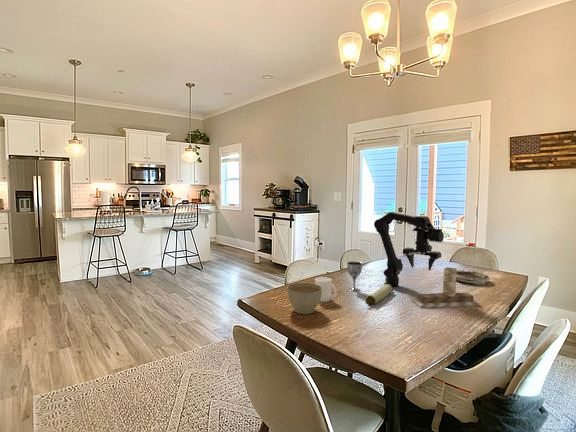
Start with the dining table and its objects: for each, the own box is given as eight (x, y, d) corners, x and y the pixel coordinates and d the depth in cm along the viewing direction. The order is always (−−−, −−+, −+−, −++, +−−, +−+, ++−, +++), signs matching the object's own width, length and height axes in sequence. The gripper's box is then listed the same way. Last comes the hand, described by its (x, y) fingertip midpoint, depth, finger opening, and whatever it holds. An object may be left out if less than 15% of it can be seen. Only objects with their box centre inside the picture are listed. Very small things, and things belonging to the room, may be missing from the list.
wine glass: (352, 292, 181) (353, 265, 179) (343, 288, 188) (344, 262, 186) (364, 290, 184) (365, 263, 183) (355, 287, 191) (355, 261, 190)
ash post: (442, 294, 165) (444, 268, 164) (446, 292, 168) (447, 267, 167) (452, 296, 162) (453, 270, 161) (455, 294, 165) (456, 268, 164)
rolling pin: (372, 309, 157) (372, 299, 157) (360, 306, 161) (361, 296, 160) (396, 292, 183) (396, 283, 182) (386, 290, 186) (386, 281, 186)
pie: (482, 276, 217) (483, 268, 216) (505, 289, 190) (506, 281, 189) (437, 275, 220) (437, 267, 219) (453, 288, 193) (454, 279, 192)
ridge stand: (420, 307, 159) (420, 298, 159) (411, 301, 168) (411, 292, 168) (479, 305, 162) (480, 296, 162) (467, 299, 171) (468, 291, 171)
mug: (340, 300, 168) (341, 280, 167) (331, 305, 162) (331, 284, 161) (321, 295, 176) (321, 276, 175) (311, 299, 170) (311, 279, 169)
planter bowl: (311, 320, 144) (312, 295, 143) (280, 312, 152) (280, 289, 152) (327, 308, 158) (328, 285, 157) (298, 302, 166) (298, 280, 165)
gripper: (445, 240, 178) (444, 269, 180) (411, 236, 191) (410, 263, 193) (437, 242, 170) (436, 273, 172) (402, 238, 184) (401, 266, 185)
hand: (420, 268), depth 181 cm, fingers open, 9 cm apart
